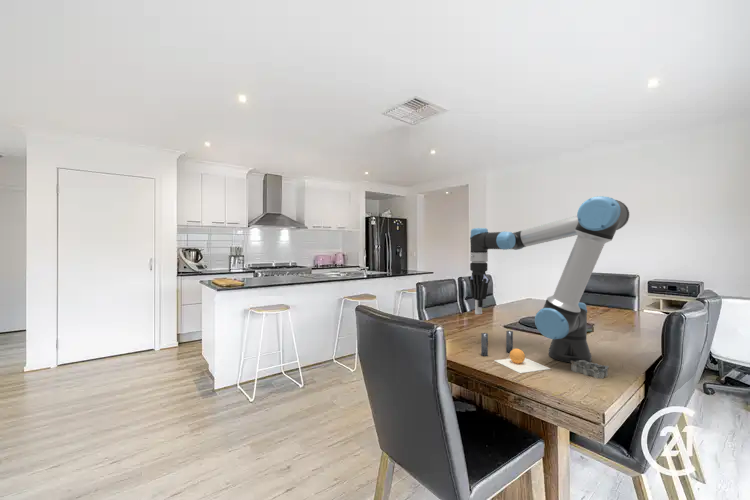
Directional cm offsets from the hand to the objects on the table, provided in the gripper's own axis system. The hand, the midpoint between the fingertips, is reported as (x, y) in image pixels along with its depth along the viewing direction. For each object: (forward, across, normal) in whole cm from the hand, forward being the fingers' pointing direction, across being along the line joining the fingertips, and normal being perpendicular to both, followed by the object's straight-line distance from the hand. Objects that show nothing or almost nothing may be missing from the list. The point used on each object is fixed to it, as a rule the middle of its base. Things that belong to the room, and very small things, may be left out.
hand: (478, 314), depth 154 cm
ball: (+12, +25, 0) cm, 27 cm away
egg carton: (+15, +41, +17) cm, 47 cm away
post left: (+14, +13, -6) cm, 20 cm away
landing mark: (+14, +27, 0) cm, 31 cm away
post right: (+14, +13, +6) cm, 20 cm away
